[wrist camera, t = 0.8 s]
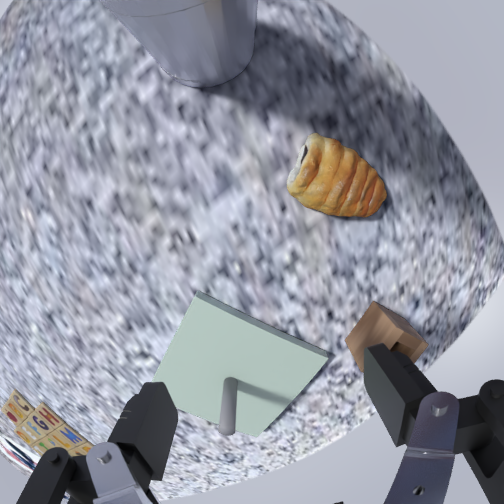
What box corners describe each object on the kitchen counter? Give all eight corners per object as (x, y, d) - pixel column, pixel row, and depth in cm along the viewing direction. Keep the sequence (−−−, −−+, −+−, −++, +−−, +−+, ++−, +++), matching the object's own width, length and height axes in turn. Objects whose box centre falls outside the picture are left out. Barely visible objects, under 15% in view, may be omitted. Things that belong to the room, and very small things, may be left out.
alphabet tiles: (97, 492, 45) (96, 495, 44) (-2, 412, 39) (-3, 414, 38) (155, 483, 41) (154, 487, 40) (22, 378, 34) (19, 381, 33)
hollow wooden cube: (373, 300, 29) (396, 327, 24) (404, 318, 30) (428, 344, 24) (344, 340, 31) (360, 371, 25) (377, 355, 31) (395, 384, 26)
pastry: (388, 171, 26) (406, 172, 22) (364, 231, 28) (379, 240, 24) (304, 130, 25) (313, 124, 21) (279, 195, 27) (284, 199, 23)
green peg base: (197, 290, 29) (178, 337, 20) (325, 350, 31) (346, 404, 22) (149, 386, 32) (128, 436, 24) (256, 429, 35) (258, 480, 26)
